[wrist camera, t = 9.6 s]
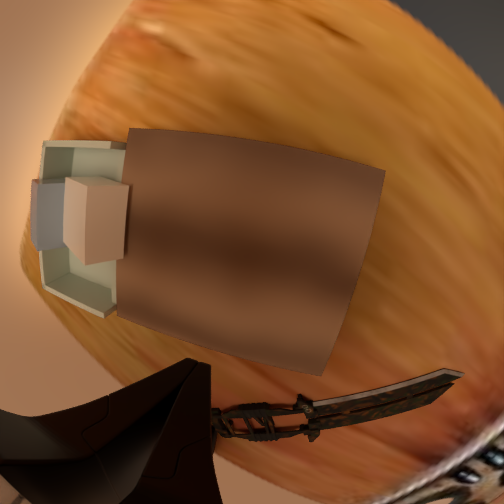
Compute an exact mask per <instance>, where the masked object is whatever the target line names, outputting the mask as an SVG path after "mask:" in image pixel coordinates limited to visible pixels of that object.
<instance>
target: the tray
mask: <svg viewBox="0 0 504 504" xmlns="http://www.w3.org/2000/svg"><path fill="white" fill-rule="evenodd" d="M126 145H127V143H123V142H113V141H87V140H53V141H43V146H42V154H41V164H40V175H39V179H56V178H66V177H87V176H100V177H103V178H106V179H110V180H113V181H116V182H119V183H121V181H122V172H123V165H124V158H125V151H126ZM39 259H40V270H41V280H42V288H43V289H45V290H47V291H49V292H50V293H52V294H54V295H56V296H58V297H60V298H62V299H64V300H66V301H68V302H70V303H72V304H74V305H76V306H78V307H80V308H82V309H84V310H86V311H88V312H91V313H93V314H95V315H97V316H99V317H102V318H106V317H107V316H108V315H110V314H111V313H112V312H114V311H115V310H116V309H117V304H116V260H112V261H107V262H101V263H96V264H91V265H84V264H83V263H82V262H81V261H80V260H79V259H78V258H77V256H76V255H75V254H74V253H73V252H72V251H71V250H70V249H69V248H68V247H63V248H56V249H50V250H43V251H39Z"/></svg>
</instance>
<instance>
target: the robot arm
mask: <svg viewBox="0 0 504 504" xmlns="http://www.w3.org/2000/svg"><path fill="white" fill-rule="evenodd" d="M217 433H218V432H216V430H215V428H214V426H211V365H210V364H206V363H203V362H198V361H197V360H194V359H191V358H185V359H183V360H181V361H179V362H177V363H175V364H173V365H171V366H169V367H167V368H165V369H163V370H161V371H159V372H157V373H155V374H153V375H151V376H148V377H146V378H144V379H142V380H140V381H138V382H135V383H133V384H131V385H129V386H127V387H124V388H122V389H120V390H118V391H116V392H113V393H111V394H109V396H108V395H106V396H104V397H101V398H99V399H96V400H94V401H91V402H89V403H86V404H83V405H80V406H77V407H73V408H69V409H66V410H62V411H58V412H54V413H50V414H45V415H41V416H33V417H27V416H21V415H17V414H13V413H10V412H6V411H4V410H1V409H0V504H223V503H222V499H221V495H220V491H219V487H218V483H217V478H216V474H215V469H214V463H213V453H214V448H215V443H216V438H217Z"/></svg>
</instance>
